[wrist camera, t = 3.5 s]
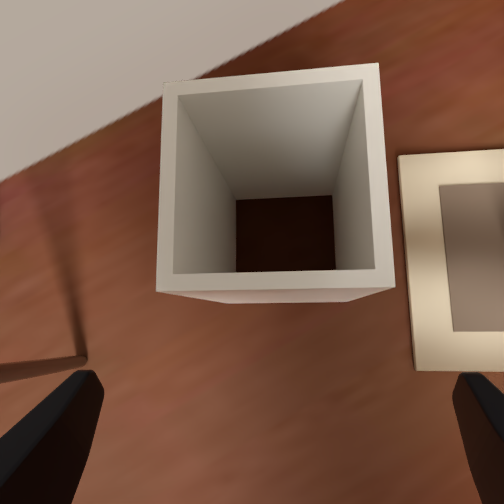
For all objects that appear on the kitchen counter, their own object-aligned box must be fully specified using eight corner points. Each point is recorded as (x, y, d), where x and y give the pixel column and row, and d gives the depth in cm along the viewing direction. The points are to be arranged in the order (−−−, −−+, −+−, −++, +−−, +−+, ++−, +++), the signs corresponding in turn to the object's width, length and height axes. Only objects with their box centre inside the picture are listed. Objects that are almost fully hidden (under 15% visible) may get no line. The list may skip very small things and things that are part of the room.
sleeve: (346, 301, 21) (395, 286, 10) (227, 303, 22) (155, 291, 11) (340, 186, 22) (378, 62, 11) (228, 192, 23) (163, 82, 12)
